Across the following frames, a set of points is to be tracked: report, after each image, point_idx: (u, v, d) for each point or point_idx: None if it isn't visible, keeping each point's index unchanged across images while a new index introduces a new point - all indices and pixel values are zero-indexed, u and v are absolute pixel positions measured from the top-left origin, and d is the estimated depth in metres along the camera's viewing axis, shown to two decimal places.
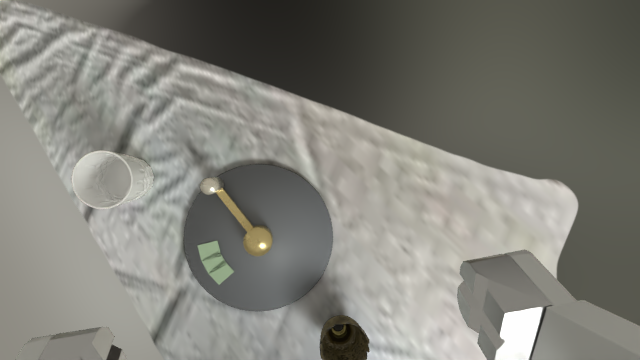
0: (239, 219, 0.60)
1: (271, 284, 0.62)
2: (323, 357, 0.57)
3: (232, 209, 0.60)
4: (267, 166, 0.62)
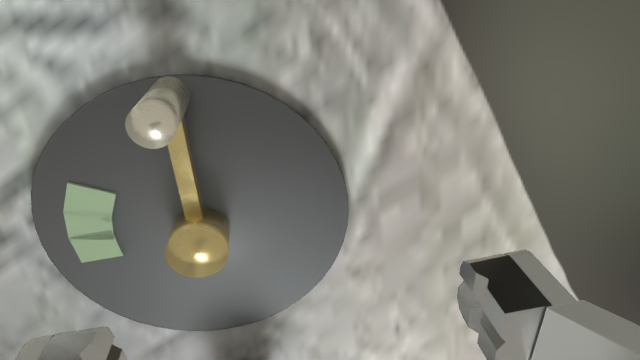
0: (183, 192, 0.27)
1: (180, 297, 0.34)
2: None
3: (180, 169, 0.26)
4: (297, 120, 0.28)
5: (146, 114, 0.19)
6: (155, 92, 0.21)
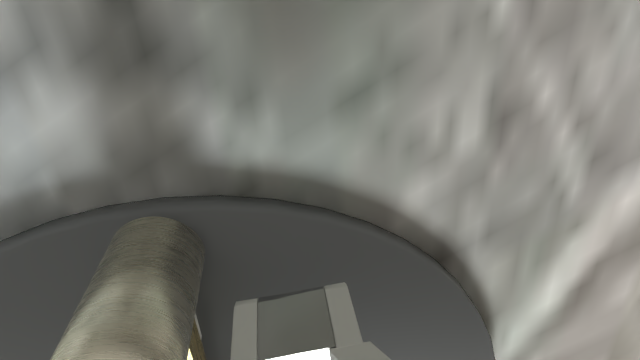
0: None
1: None
2: None
3: None
4: (432, 276, 0.13)
5: None
6: (98, 340, 0.07)
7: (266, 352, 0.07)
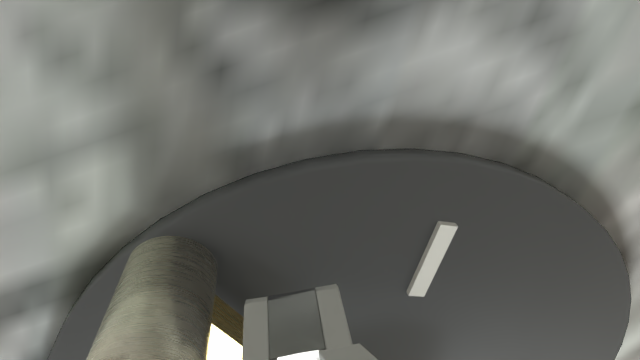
0: None
1: None
2: None
3: None
4: (620, 276, 0.15)
5: None
6: None
7: (277, 350, 0.07)
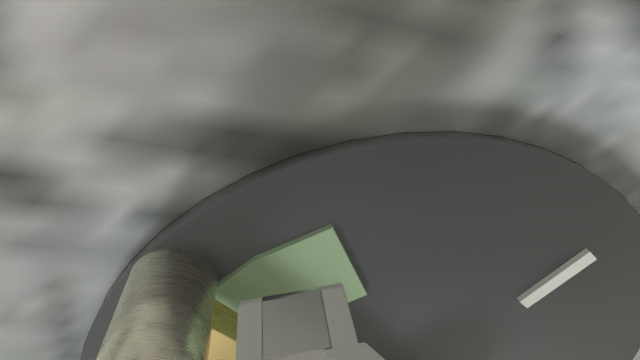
0: None
1: None
2: None
3: None
4: (631, 353, 0.18)
5: None
6: None
7: (271, 351, 0.07)
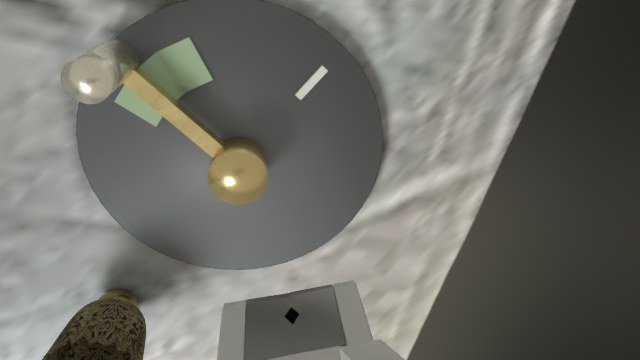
0: (190, 134, 0.28)
1: (154, 196, 0.32)
2: None
3: (171, 115, 0.27)
4: (379, 146, 0.33)
5: (73, 73, 0.20)
6: None
7: (252, 355, 0.07)
